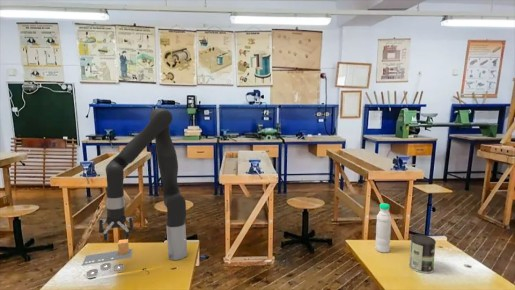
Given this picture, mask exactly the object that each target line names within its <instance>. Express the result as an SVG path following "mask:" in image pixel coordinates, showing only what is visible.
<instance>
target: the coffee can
mask: <svg viewBox="0 0 515 290" xmlns="http://www.w3.org/2000/svg"><path fill="white" fill-rule="evenodd" d="M436 243H437V241H436V240H435V238H433V237H431V236H428V235H424V234H412V235H411V236H410V248H409V263H408V266H409V268H410V269H412V270H413V271H414V272H418V273H421V274H431V273H433V272H434V271H435V270H434V267H435V266H434V265H435V252H436Z"/></svg>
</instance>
